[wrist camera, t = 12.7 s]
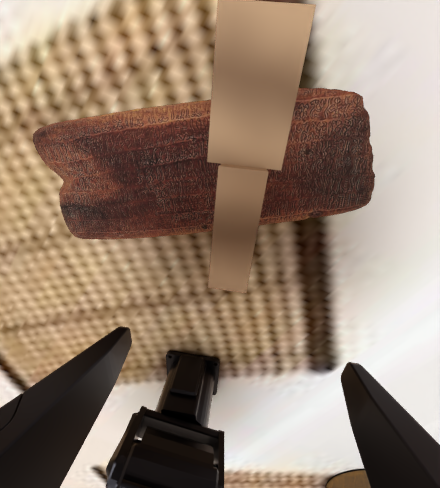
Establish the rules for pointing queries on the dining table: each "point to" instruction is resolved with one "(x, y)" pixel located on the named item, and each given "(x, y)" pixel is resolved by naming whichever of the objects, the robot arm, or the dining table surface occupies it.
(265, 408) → the dining table surface
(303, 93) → the wooden tablet
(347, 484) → the wooden container
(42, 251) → the dining table surface
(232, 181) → the tan paddle
